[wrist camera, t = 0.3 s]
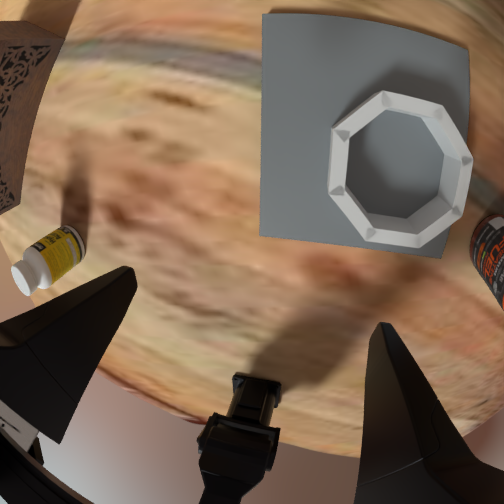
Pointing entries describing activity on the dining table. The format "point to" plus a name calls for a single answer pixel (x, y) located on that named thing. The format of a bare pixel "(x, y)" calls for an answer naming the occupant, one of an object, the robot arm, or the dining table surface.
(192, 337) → the dining table surface
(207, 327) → the dining table surface
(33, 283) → the supplement bottle
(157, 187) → the dining table surface
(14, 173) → the tissue box cover
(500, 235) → the supplement bottle
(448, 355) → the dining table surface
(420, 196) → the collar mount
